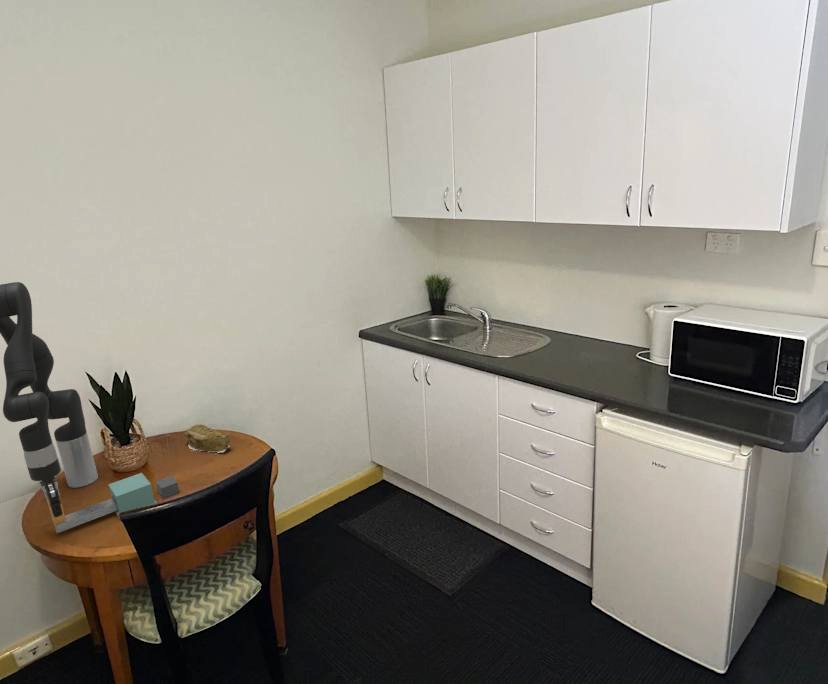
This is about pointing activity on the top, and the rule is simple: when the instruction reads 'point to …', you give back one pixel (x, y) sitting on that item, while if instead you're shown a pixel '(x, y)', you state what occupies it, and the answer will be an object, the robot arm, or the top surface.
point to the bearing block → (132, 493)
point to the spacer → (167, 487)
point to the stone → (206, 439)
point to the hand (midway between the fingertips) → (57, 512)
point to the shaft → (82, 514)
